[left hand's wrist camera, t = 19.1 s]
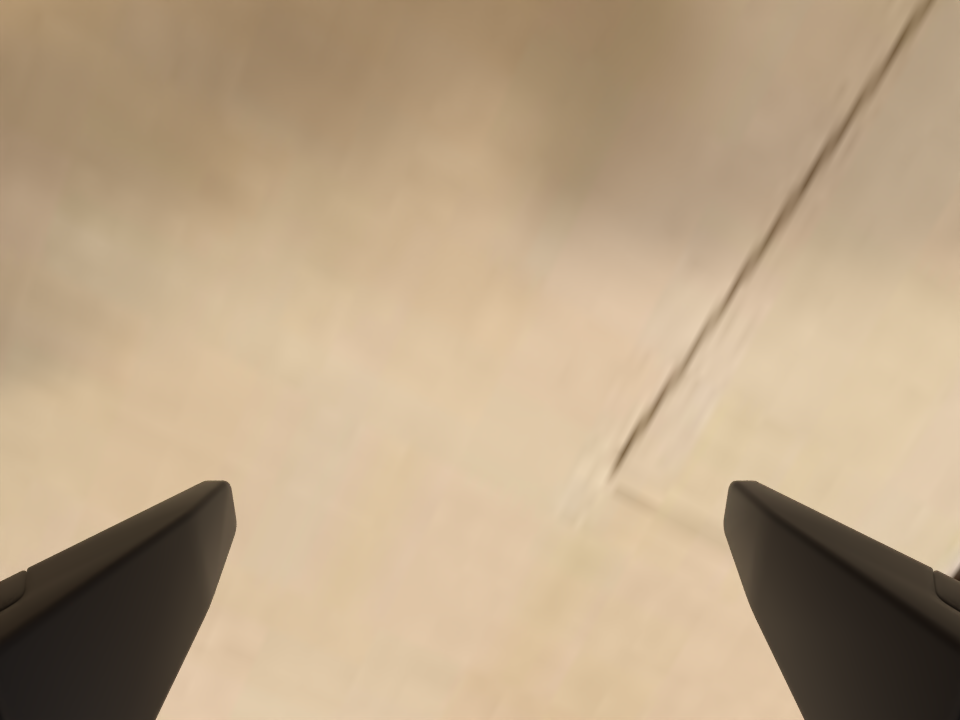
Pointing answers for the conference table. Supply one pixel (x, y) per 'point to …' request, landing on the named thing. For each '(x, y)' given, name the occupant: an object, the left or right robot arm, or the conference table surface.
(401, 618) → the conference table surface
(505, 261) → the conference table surface
